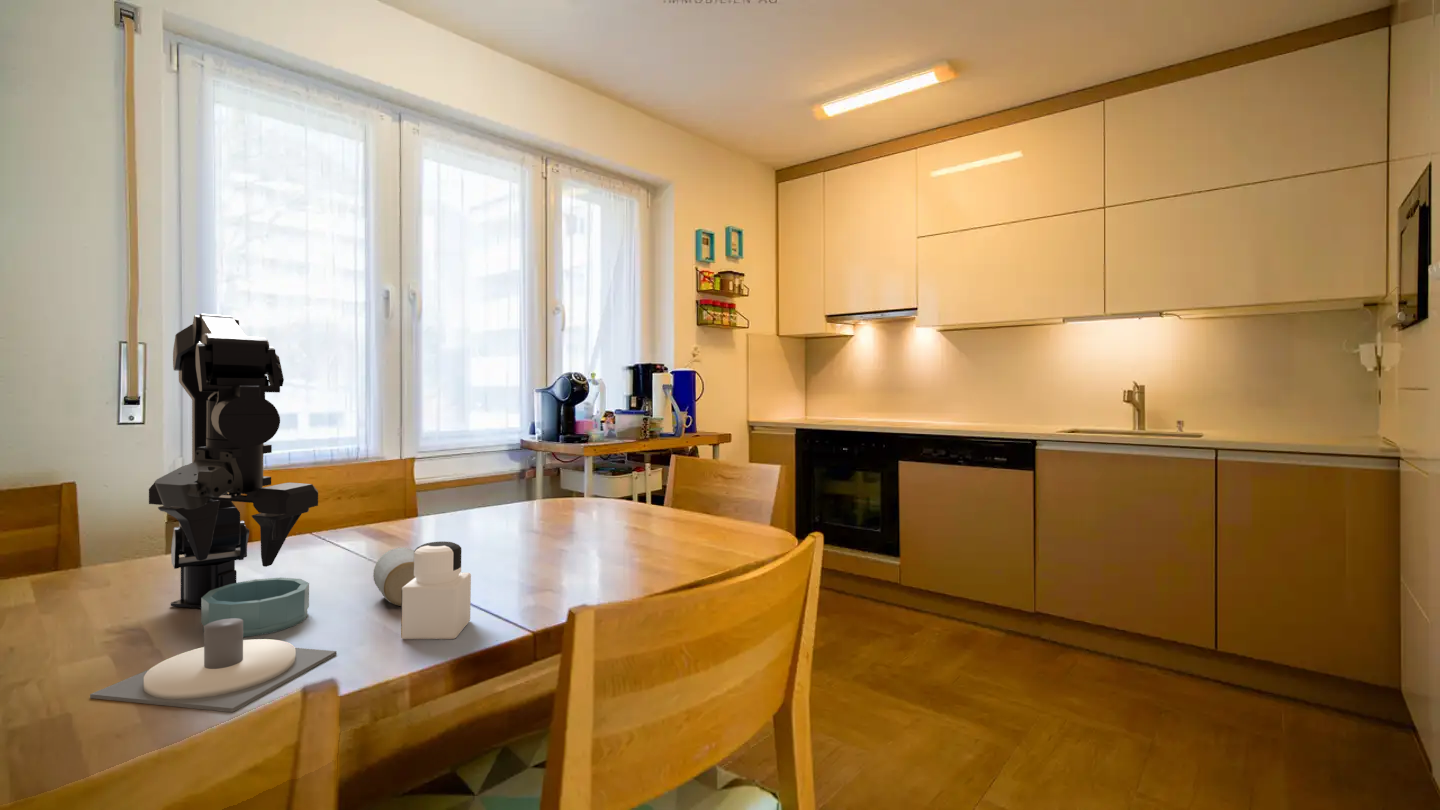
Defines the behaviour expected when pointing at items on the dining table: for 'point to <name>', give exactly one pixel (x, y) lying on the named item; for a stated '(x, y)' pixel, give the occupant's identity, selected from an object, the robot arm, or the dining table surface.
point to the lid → (219, 664)
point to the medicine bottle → (436, 594)
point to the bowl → (258, 604)
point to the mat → (227, 702)
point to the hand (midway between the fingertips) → (234, 562)
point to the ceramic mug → (394, 573)
